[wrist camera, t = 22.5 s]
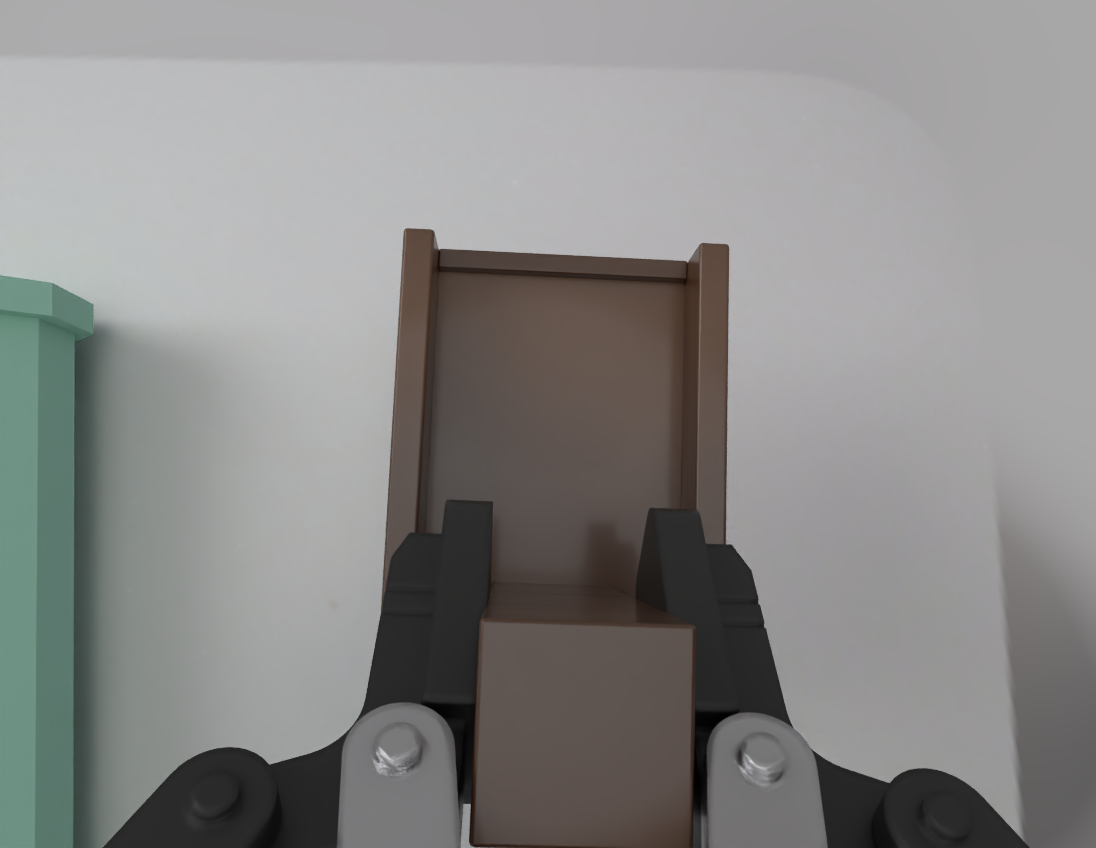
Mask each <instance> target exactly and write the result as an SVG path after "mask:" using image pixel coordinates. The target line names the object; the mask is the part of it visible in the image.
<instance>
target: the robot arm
mask: <svg viewBox="0 0 1096 848" xmlns="http://www.w3.org/2000/svg"><path fill="white" fill-rule="evenodd" d="M492 526H493V501H470V500H446V502H445V509H444V517H443V525H442V533H441V534H436V533H409V534H408V535H407V537H406V538H405V539H404V541H403V542H402V543H401V545H400V546H399V547H398V549H397V550H396V551H395V553H394V554H393V555H392V557H391V560H390V566H389V571H388V577H387V582H386V591H385V594H384V599H383V605H382V614H381V616H380V621H379V627H378V632H377V638H376V643H375V649H374V655H373V660H372V666H371V671H370V677H369V682H368V688H367V693H366V699H365V702H364V706H363V709H362V711H361V713H360V715H359V717H358V719H357V720H356V722H355V723H354V724H353V726H352V727H351V728H350V729H349V730H348V731H347V732H346V733H345V734H344V735H343V736H342V737H340V738H339V739H338V740H336V741H335V742H333V743H332V744H330V745H329V746H327V747H325V748H323V749H321V750H318V751H316V752H313V753H310V754H307V755H303V756H299V757H296V758H292V759H289V760H285V761H281V762H278V763H274V764H271V765H269V764H268V763H267V762H266V761H265V760H264V759H263V758H262V757H260V756H259V755H257V754H256V753H254V752H251V751H249V750H246V749H241V748H233V747H226V748H217V749H213V750H209V751H206V752H203V753H201V754H198V755H196V756H194V757H193V758H191V759H189V760H187V761H186V762H184V763H183V764H182V765H180V766H179V767H178V768H177V769H176V770H175V771H174V772H173V773H172V774H170V776H169V777H168V778H167V779H166V780H165V781H164V782H163V783H162V784H161V785H160V786H159V787H158V789H157V790H156V791H155V792H154V793H153V794H152V795H151V796H150V797H149V798H148V799H147V800H146V802H145V803H144V804H143V805H142V806H141V807H140V808H139V809H138V810H137V811H136V812H135V813H134V814H133V816H132V817H131V818H130V819H129V820H128V821H127V822H126V823H125V824H124V825H123V826H122V827H121V829H120V830H119V831H118V832H117V833H116V834H115V835H114V836H113V837H112V838H111V839H110V840H109V842H108V843H107V844H106V845H105V846H104V847H103V848H461V847H460V842H461V829H462V815H463V804H471V791H472V770H473V748H474V726H475V704H476V682H477V661H478V639H479V622H480V619H481V616H482V613H483V610H484V608H486V606H487V603H488V600H489V596H490V590H491V562H492ZM635 599H637V600H639V601H642V602H644V603H646V604H648V605H650V606H652V607H655V608H657V609H659V610H661V611H663V612H665V613H668V614H670V615H672V616H674V617H676V618H679V619H681V620H683V621H685V622H687V623H689V624H692V625H694V626H695V628H696V678H695V743H694V809H693V848H1029V847H1028V845H1027V844H1026V843H1025V842H1024V841H1023V840H1022V839H1021V838H1020V837H1019V836H1018V835H1017V834H1016V833H1015V831H1014V830H1013V829H1012V828H1011V827H1010V826H1009V825H1008V824H1007V823H1006V822H1005V821H1004V820H1003V819H1002V817H1001V816H1000V815H999V814H998V813H997V812H996V811H995V810H994V809H993V808H992V807H991V806H990V805H989V803H988V802H987V801H986V800H985V799H984V798H983V797H982V796H981V795H980V794H979V793H978V792H977V791H976V790H975V789H973V788H972V787H971V786H969V785H968V784H967V783H965V782H963V781H962V780H960V779H958V778H957V777H954V776H952V775H950V774H948V773H945V772H942V771H938V770H933V769H927V768H923V769H912V770H908V771H905V772H903V773H901V774H899V775H898V776H896V777H895V778H894V779H893V780H892V781H891V783H887V782H884V781H881V780H878V779H875V778H872V777H869V776H866V775H863V774H860V773H857V772H854V771H851V770H847V769H845V768H842V767H840V766H837V765H835V764H833V763H831V762H829V761H827V760H825V759H824V758H822V757H821V756H820V755H818V754H817V753H815V752H814V751H813V750H812V749H811V748H810V747H809V745H808V744H807V742H806V741H805V740H804V738H803V737H802V736H801V735H800V734H799V733H798V732H797V731H796V730H795V729H794V728H793V726H792V724H791V722H790V720H789V717H788V714H787V711H786V707H785V703H784V699H783V695H782V691H781V687H780V683H779V679H778V675H777V671H776V667H775V663H774V659H773V655H772V651H771V647H770V643H769V639H768V635H767V631H766V628H764V619H763V615H762V611H761V607H760V605H758V595H757V591H756V587H755V583H754V579H753V575H752V571H751V569H750V568H749V567H748V566H747V564H746V563H745V562H744V560H743V559H742V558H741V556H740V555H739V554H738V553H737V551H736V550H735V549H734V547H733V546H732V545H726V544H706V541H705V536H704V531H703V526H702V521H701V517H700V513H699V511H698V510H696V509H671V508H650V509H649V511H648V514H647V519H646V525H645V531H644V537H643V543H642V549H641V554H640V560H639V566H638V572H637V579H636V596H635Z"/></svg>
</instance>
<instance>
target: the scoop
mask: <svg viewBox="0 0 1096 848" xmlns="http://www.w3.org/2000/svg"><path fill="white" fill-rule="evenodd" d="M728 303H729V246H728V245H726V244H709V243H701V244H700V245H699V246H698V248H697V249H696V251H695V253H694V254H693V256H692V257H691V259H690V260H689V262H688V263H687V261H673V260H653V259H633V258H613V257H593V256H573V255H553V254H533V253H513V252H493V251H473V250H453V249H440V250H439V249H438V245H437V241H436V237H435V233H434V231H433V230H430V229H411V228H407V229H405V230H404V237H403V254H402V270H401V287H400V304H399V321H398V337H397V354H396V371H395V387H394V404H393V421H392V438H391V454H390V471H389V488H388V504H387V521H386V538H385V554H384V571H383V588H382V605H383V599H384V594H385V591H386V582H387V577H388V571H389V566H390V560H391V557H392V555H393V554H394V553H395V551H396V550H397V549H398V547H399V546H400V545H401V543H402V542H403V541H404V539H405V538H406V537H407V535H408V534H409V533H436V534H441V533H442V525H443V517H444V509H445V502H446V500H470V501H493V526H492V562H491V590H490V596H489V600H488V603H487V606H486V608H484V610H483V613H482V616H481V619H480V622H479V639H478V661H477V682H476V704H475V726H474V748H473V770H472V791H471V813H470V835H469V842H470V845H471V846H473V847H483V848H693V809H694V743H695V678H696V628H695V626H694V625H692V624H689V623H687V622H685V621H683V620H681V619H679V618H676V617H674V616H672V615H670V614H668V613H665V612H663V611H661V610H659V609H657V608H655V607H652V606H650V605H648V604H646V603H644V602H642V601H639V600H637V599H635V596H636V579H637V572H638V566H639V560H640V554H641V549H642V543H643V537H644V531H645V525H646V519H647V514H648V511H649V509H650V508H671V509H696V510H698V511H699V513H700V517H701V521H702V526H703V531H704V536H705V541H706V544H726V482H727V393H728ZM382 605H381V614H382Z"/></svg>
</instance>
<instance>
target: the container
mask: <svg viewBox="0 0 1096 848" xmlns="http://www.w3.org/2000/svg"><path fill="white" fill-rule="evenodd" d="M91 335H93V304H91V303H89V302H88V301H86V300H84V299H82V298H80V297H78V296H76V295H74V294H72V293H70V292H68V291H67V290H65V289H63V288H61V287H59V286H57V285H55V284H53V283H48V282H41V281H35V280H28V279H21V278H14V277H7V276H1V275H0V848H73V746H74V405H75V342H77V341H79V340H82V339H84V338H86V337H89V336H91Z"/></svg>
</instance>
